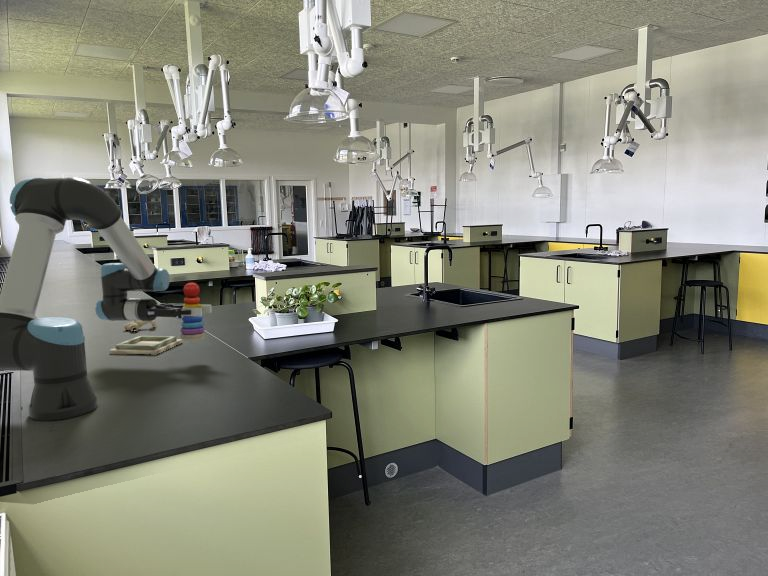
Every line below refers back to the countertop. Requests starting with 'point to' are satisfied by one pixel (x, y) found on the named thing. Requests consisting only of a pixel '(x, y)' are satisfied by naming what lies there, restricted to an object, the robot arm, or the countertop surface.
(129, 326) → the beige animal figurine
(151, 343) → the rimmed tray
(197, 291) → the stacking toy
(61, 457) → the countertop surface
